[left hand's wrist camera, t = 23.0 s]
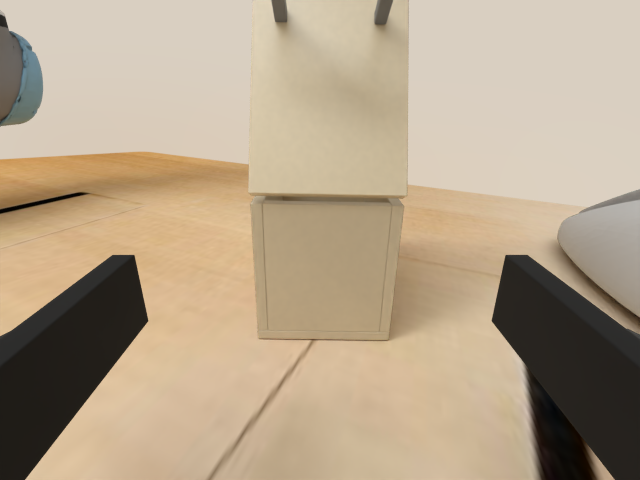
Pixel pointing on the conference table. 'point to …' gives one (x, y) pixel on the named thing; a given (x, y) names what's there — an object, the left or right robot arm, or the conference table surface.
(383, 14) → the lid
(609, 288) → the projector
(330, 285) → the chest
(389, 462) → the conference table surface
